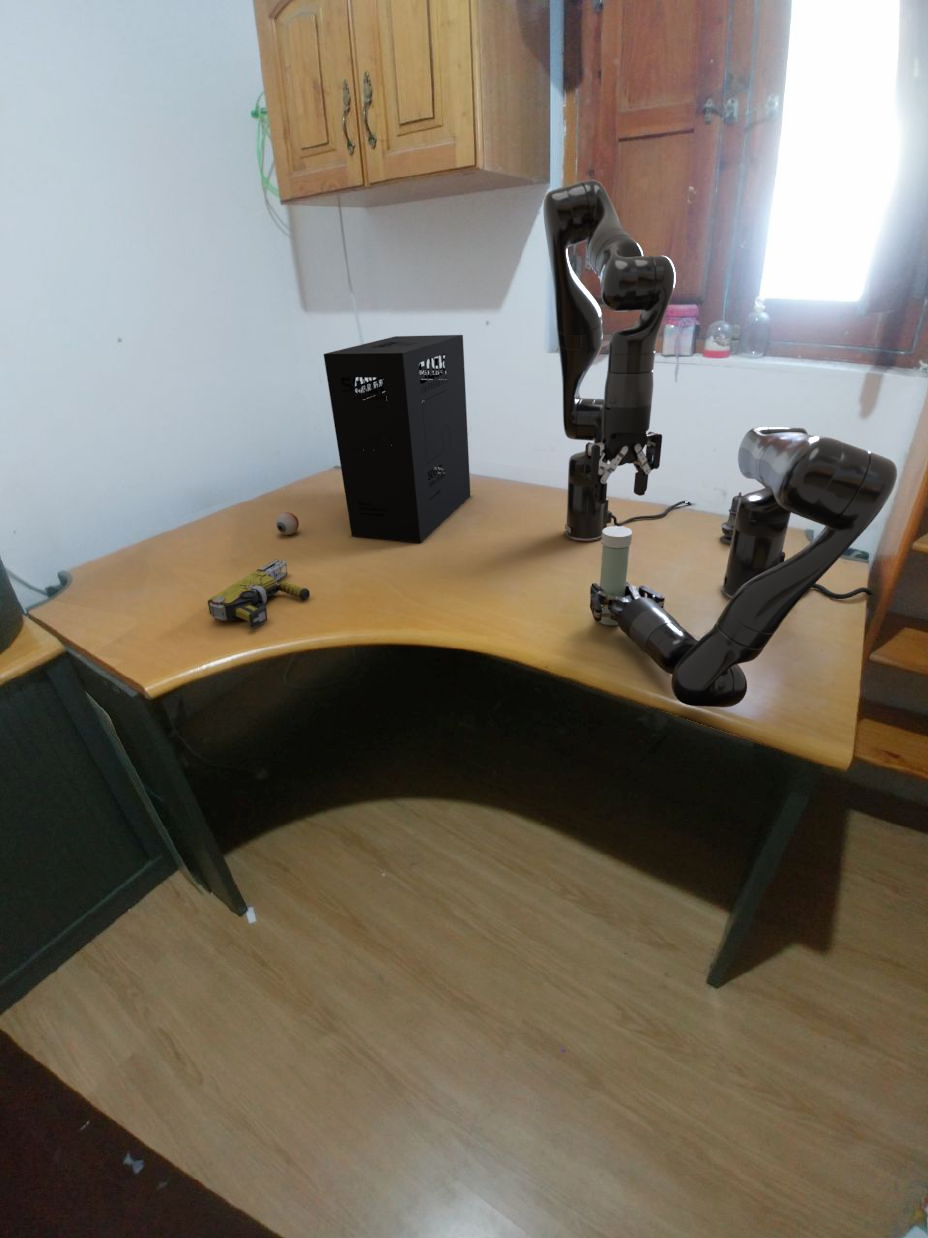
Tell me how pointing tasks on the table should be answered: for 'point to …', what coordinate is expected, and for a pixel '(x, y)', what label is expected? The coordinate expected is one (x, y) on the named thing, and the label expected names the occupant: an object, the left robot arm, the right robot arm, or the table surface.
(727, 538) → the salt shaker
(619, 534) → the lid
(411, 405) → the cardboard box
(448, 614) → the table surface
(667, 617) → the right robot arm
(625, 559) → the jar
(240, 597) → the toy gun
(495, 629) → the table surface
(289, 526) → the eyeball
